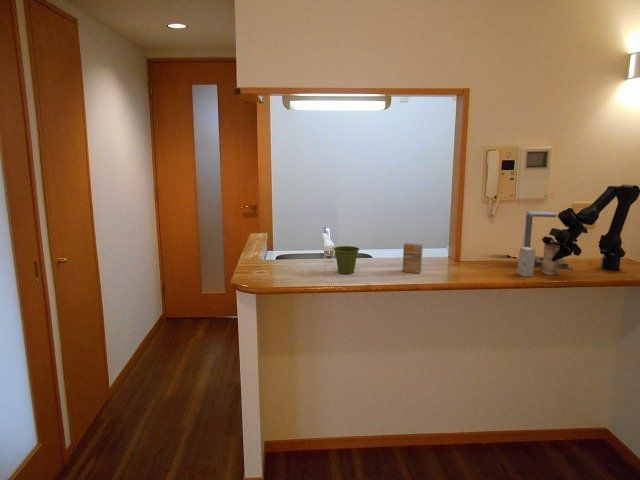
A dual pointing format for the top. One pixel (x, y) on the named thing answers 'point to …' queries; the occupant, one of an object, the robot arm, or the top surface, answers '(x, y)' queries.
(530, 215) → the grey l-shaped rod
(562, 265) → the tan flat wooden frame
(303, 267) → the top surface
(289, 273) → the top surface
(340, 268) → the plant pot
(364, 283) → the top surface
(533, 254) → the skincare box
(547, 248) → the peg
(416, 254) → the supplement box
